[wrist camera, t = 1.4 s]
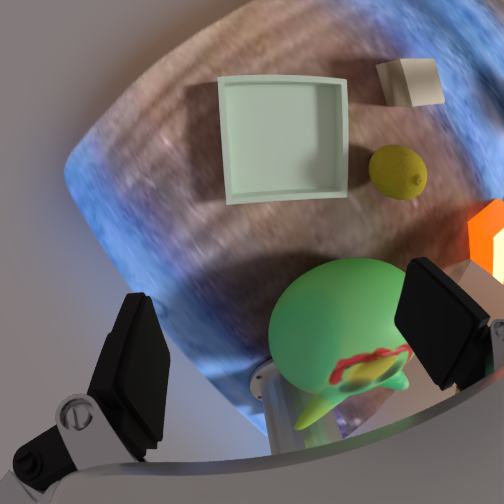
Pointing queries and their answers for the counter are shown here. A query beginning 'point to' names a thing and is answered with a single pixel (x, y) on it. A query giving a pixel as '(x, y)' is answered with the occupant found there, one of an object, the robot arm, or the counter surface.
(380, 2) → the counter surface
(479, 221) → the orange juice
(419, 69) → the beech block
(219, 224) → the counter surface
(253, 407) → the counter surface
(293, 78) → the tray
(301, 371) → the toy bird
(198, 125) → the counter surface
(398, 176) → the lemon
